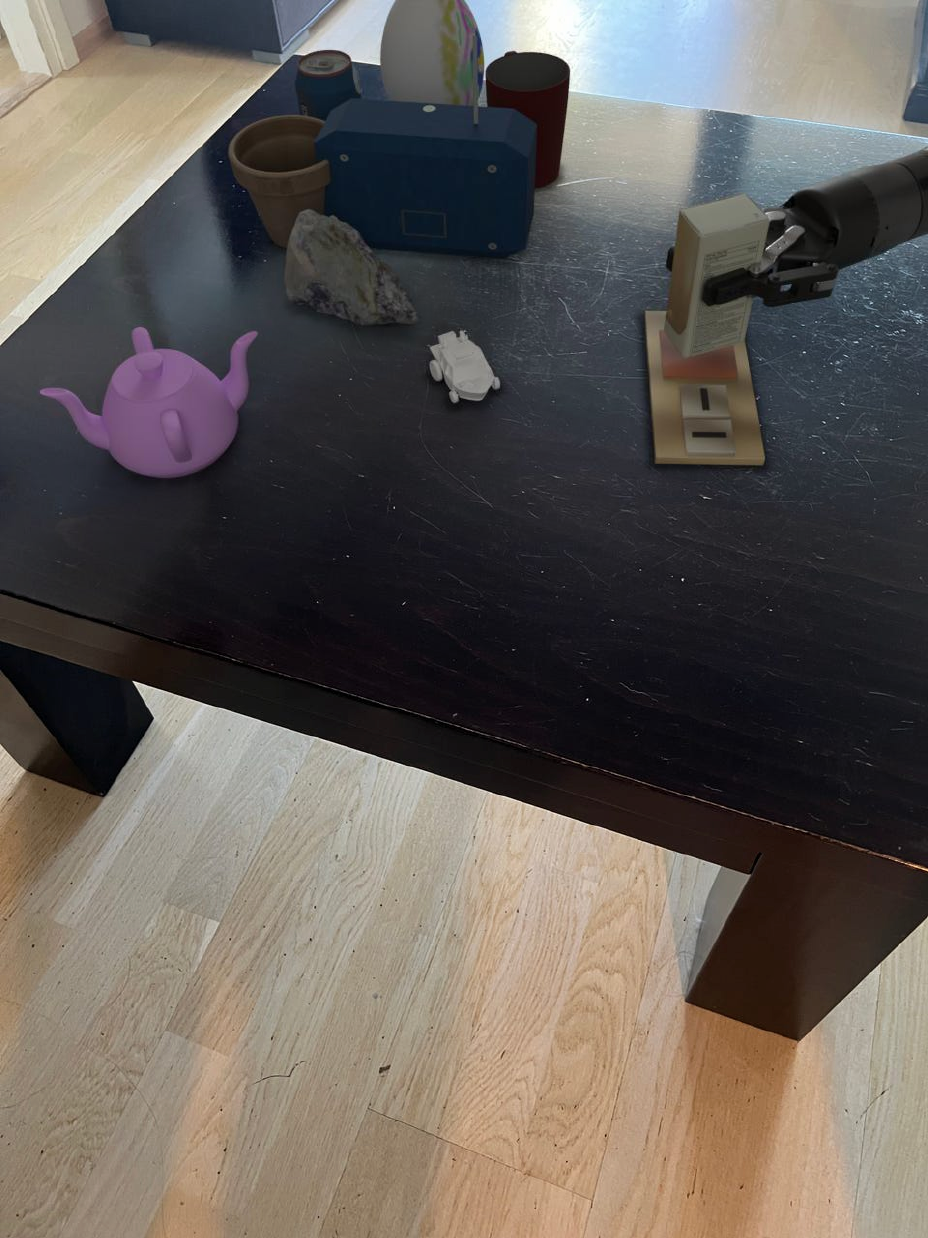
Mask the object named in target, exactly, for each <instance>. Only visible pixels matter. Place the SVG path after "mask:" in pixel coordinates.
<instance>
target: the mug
mask: <svg viewBox="0 0 928 1238" xmlns="http://www.w3.org/2000/svg"><path fill="white" fill-rule="evenodd" d="M484 78H485V93H486V94H485V96H486V107H496V108H511V109H515V110H517V111H518V112H520V113H521V114H522V115H524V116H525V117H527V118H528V119H530V120H531V121H533V122H534V123H536V124H537V139H536V167H535V190H536V189H541V188H543V187H546V186H548V185H550V184H552V183H554V182H555V181H556V180H557V178H558V177H559V174H560V168H561V160H562V153H563V147H564V146H563V145H564V139H565V138H564V137H565V129H566V123H567V121H566V120H567V113H568V105H569V96H570V95H569V94H570V83H571V68H570V66H569V64H568V63H567V62H566V60H564V59H562V58H561V57H558V56H557V55H553V54H550V53H546V52H540V51H539V52H538V51H537V52H536V51H522V52H517V51H516V50H511V51H510V50H509V51H506V52H505V53H504V55H502V56H500V57H498V58H496V59H494V60H493V61H491V62H490V63H489V64H488V65H487V66H486V68H485V70H484Z"/></svg>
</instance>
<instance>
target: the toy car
mask: <svg viewBox="0 0 928 1238" xmlns="http://www.w3.org/2000/svg"><path fill="white" fill-rule="evenodd" d="M468 337H469V336H468V334H465V331H464V330H462V329H461V330H460V331H459V336H457V334H456V332H455V331H454V330H452V331H448V332H445V333H443V334H440V335H437V340H438V343H437V344H434V345H431V346H429V348H430V351H431V353H432V355H433V357H434V359H432V360H431V361H430V362H429V370H430V374H431V376H432V378H433V380H434V381H436V382H441V381H442V380H443V379H444V382H445V384H446V385H447V387H448V388H449V390H450V391H449V392H448V397H449V399H450V401H451V402H452V403H453V404H456V403H458V402H459V401H460V400H459V398H461V399H465V400H469V401H477V402H479V401H482V400H484V398H485V396H486V395H487V394H488V391H489V389H490V388H492V389H493V390H500V387H501V382H500V379H499V377H498V376H494V375H495V374H494V372H493V369H492V367H491V366H490V364H489V362H488V361H487V359H486V357H485V354H484V353H483V350H482V349H481V347H480V346H478V345H476V344H475V343H474V342H473V341H472V340H470V339H469V338H468Z"/></svg>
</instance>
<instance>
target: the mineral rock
mask: <svg viewBox="0 0 928 1238" xmlns="http://www.w3.org/2000/svg"><path fill="white" fill-rule="evenodd" d="M285 257H286V258H285V269H284V276H283V279H284V284H285V287H286V288H285V295H286V298H287V301H288V302H290V303H291V304H292V305H294V306H298V305H300V306H305V305H306V306H309V307H310V308H311V309H314V310H316V312H317V313H322V314H327V315H333V316H336V317H337V318H340V319H342V320H348V321H350V322H352V323H354V324H355V325H357V326H363V327H364V326H365V327H366V326H374V325H386V324H395V323H398V324H404V325H414V324H417V323H418V322H419V315H418V312H417V310H416V308H415V306H414V302H413V299H412V298H411V297H410V296H409V295H408V293H407V290H406V288H405V287H404V284H403V282H402V281H401V280H400V278H399V277H398V275H397V274H396V272H395V271H394V270H393V269H392V268H391V267H390V266H389V265H388V264H387V263H386V262H384V261H383V260H382V259H380V258H379V257H377V256H376V255H374V253H373V251H372V248H369V246H367V244H366V243H365V242H364V241H363V239H362V237H361V235H360V233H359V232H358V231H357V230H355V229H354V228H353V227H351V226H350V225H348V224H347V223H344V222H341V221H339V220H338V218H337V217H335V216H333V215H332V216H330V217H327V216H324V215H320V214H319V213H317V212H315V211H313V210H310V209H308V210H305V211H302V212H299V215H298V217H297V219H296V221H295V225H294V227H293V229H292V232H291V235H290V238H289V242H288V247H287V248H286V256H285Z"/></svg>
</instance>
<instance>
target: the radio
mask: <svg viewBox="0 0 928 1238" xmlns="http://www.w3.org/2000/svg"><path fill="white" fill-rule="evenodd" d="M473 102H474V106H464V105H449V104H433V103H417V102H402V101H389V100H386V99H371V98H370V99H368V98H362V99H355V98H351V99H350V100H348V101H346V102H345V103H343V104H341V105H340V106H338V107H336V108H335V109H333V110H331V111H330V113H329V115H328V117H327V119H326V121H325V123H324V125H323V127H322V128H321V130H320V132H319V134H318V136H317V138H316V140H315V142H314V148H315V155H316V161H317V164H318V163H320V162H321V161H323V160H327V161H328V162H329V169H330V179H331V182H330V183H329V184H328V185H326V186H325V197H324V215H325V216H327V217H330V216H332V215H333V216H335V217H337V218H338V220H339V221H341V222H344V223H347V224H348V225H350V226H351V227H353V228H354V229H355V230H357V231H358V232H359V233H360V235H361V237H362V239H363V241H364V242H365V243H366V244H367V246H369V248H370V249H374V250H375V249H376V250H388V251H397V252H398V251H400V252H409V253H423V254H436V255H447V256H457V257H472V258H482V259H483V258H484V259H485V258H486V259H494V260H496V259H497V260H504V259H506V258H509V257H511V256H513V255H515V254H518V253H521V252H522V251H524V250H526V248H527V243H528V239H529V235H530V231H531V227H532V224H533V220H534V216H535V195H536V193H535V192H536V189H535V167H536V139H537V124H536V123H534V122H533V121H531V120H530V119H528V118H527V117H525V116H524V115H522V114H521V113H520V112H518V111H517V110H515V109H511V108H496V107H487V106H481V105H479V99H478V73H477V36H473Z"/></svg>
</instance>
